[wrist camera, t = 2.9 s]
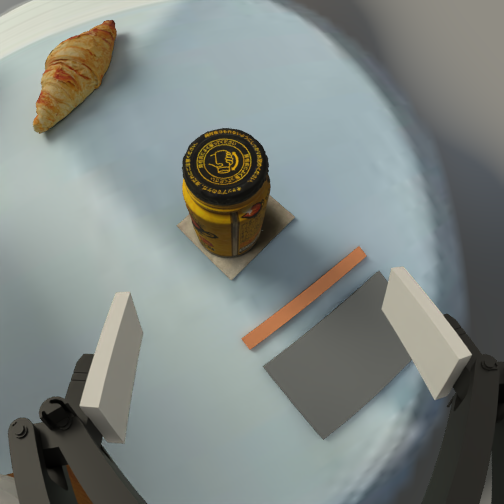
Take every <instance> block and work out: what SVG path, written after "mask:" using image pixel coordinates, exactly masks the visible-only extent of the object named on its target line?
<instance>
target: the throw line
mask: <svg viewBox="0 0 504 504" xmlns="http://www.w3.org/2000/svg"><path fill="white" fill-rule="evenodd" d="M365 257H366V254H365V253H364V252H363V250H362V249H361V248H360V247H357V248H356V249H355V250H354V251H352V252H351V253H350V254H349V255H348V256H347V257H345V258H344V259H343V260H342V261H340V262H339V263H338V264H337V265H336V266H334V267H333V268H332V269H331V270H330V271H328V272H327V273H326V274H325V275H323V276H322V277H321V278H320V279H318V280H317V281H316V282H315V283H313V284H312V285H311V286H310V287H308V288H307V289H306V290H305V291H303V292H302V293H301V294H300V295H298V296H297V297H296V298H294V299H293V300H292V301H291V302H289V303H288V304H287V305H285V306H284V307H283V308H282V309H280V310H279V311H278V312H276V313H275V314H274V315H272V316H271V317H270V318H269V319H267V320H266V321H265V322H263V323H262V324H261V325H259V326H258V327H257V328H255V329H254V330H253V331H251V332H250V333H249V334H247V335H246V336H244V337H243V338H242V340H243V342H244V343H245V344H246V345H247V347H248V348H249V349H252V348H253V347H254V346H256V345H257V344H258V343H260V342H261V341H262V340H264V339H265V338H266V337H268V336H269V335H270V334H272V333H273V332H274V331H276V330H277V329H278V328H279V327H281V326H282V325H283V324H285V323H286V322H287V321H288V320H290V319H291V318H292V317H294V316H295V315H296V314H297V313H299V312H300V311H301V310H302V309H304V308H305V307H306V306H307V305H309V304H310V303H311V302H312V301H314V300H315V299H316V298H317V297H319V296H320V295H321V294H322V293H323V292H325V291H326V290H327V289H328V288H329V287H331V286H332V285H333V284H334V283H336V282H337V281H338V280H339V279H340V278H341V277H343V276H344V275H345V274H346V273H347V272H349V271H350V270H351V269H352V268H353V267H354V266H356V265H357V264H358V263H359V262H360V261H361V260H363V259H364V258H365Z"/></svg>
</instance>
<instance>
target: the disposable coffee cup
mask: <svg viewBox="0 0 504 504" xmlns="http://www.w3.org/2000/svg"><path fill="white" fill-rule="evenodd" d="M66 467H67V471H68V474H69V478H70V481H71V484H72V487H73V490H74V494H75V497H76V499H77V502H78V504H93V503H92V501H91V500H90V498H89V497H88V495H87V494H86V492H85V491H84V489H83V488H82V486H81V484H80V483H79V481H78V480H77V478H76V476H75V475H74V473H73V471H72V470H71V468H70V466H69V465H66ZM0 504H19V500H18V495H17V490H16V485H15V480H14V474H13V473H11V474H7V475H0Z"/></svg>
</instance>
